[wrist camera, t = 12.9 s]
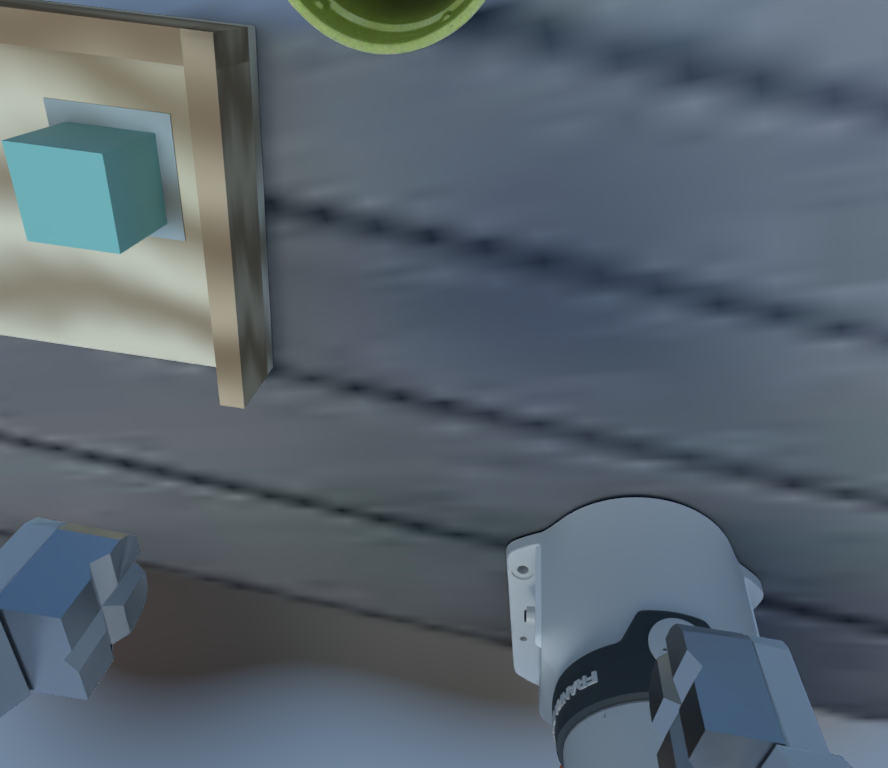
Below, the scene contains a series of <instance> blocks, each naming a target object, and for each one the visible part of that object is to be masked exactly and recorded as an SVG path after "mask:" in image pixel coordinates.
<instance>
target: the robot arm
mask: <svg viewBox="0 0 888 768" xmlns="http://www.w3.org/2000/svg"><path fill="white" fill-rule="evenodd" d="M140 552H141V550H140V547H139V543H138V540H137V536H133V535H129V534H124V533H119V532H114V531H109V530H103V529H98V528H93V527H88V526H83V525H78V524H72V523H66V522H61V521H55V520H49V519H44V518H38V517H37V518H35V519H33V520H31V521H28V522H26V523H25V524H24V525H23V526H22V527H21V528H20V529H19V530H18V531H17V532H16V533H15V534H14V535H13V536H12V537H11V538H10V539H9V540H8V541H7V542H6V543H5V544H4V546H3V547H2V548H1V549H0V717H1V716H3V715H4V714H6V713H7V712H8V711H10V710H11V709H13V708H14V707H15V706H17V705H18V704H19V703H20V702H22V701H23V700H25V699H26V698H28V697H29V696H30V695H31V693H30V691H31V692H38V693H45V694H52V695H59V696H66V697H73V698H79V699H85V700H88V699H89V697H90V696H91V694H92V692H93V691H94V690H95V688H96V686H97V685H98V683H99V682H100V680H101V679H102V677H103V675H104V674H105V672H106V670H107V669H108V668H109V666H110V664H111V663H112V661H113V660H114V657H113V649H112V644H113V643H115V642H117V641H118V640H120V639H121V638H123V637H124V636H126V635H128V634H130V632H131V631H132V629H133V627H134V626H135V624H136V622H137V621H138V619H139V617H140V615H141V612H142V609H143V606H144V603H145V600H146V597H147V578H146V573H145V571H144V570H143V569H142V568H141V567H140V566H139V565H138V564H137V563H136V562H135V560H136V558H137V557H138V555H139V554H140ZM506 560H507V576H508V591H509V606H510V621H511V636H512V651H513V663H514V670H515V672H516V673H517V674H518V675H520V676H521V677H523V678H525V679H526V680H528V681H530V682H532V683H534V684H537V685H538V686H539V713H540V715H541V716H542V718H543V719H544V720H545V721H546V722H547V723H548V724H550V725H551V726H552V730H553V739H554V743H555V746H556V750H557V755H558V758H559V761H560V763H561V765H560V768H852V767H851V766H850V765H849V764H848V763H847V762H846V761H845V760H844V759H843V758H842V756H838V755H833V754H830V753H829V751H828V748H827V745H826V743H825V741H824V738H823V735H822V732H821V730H820V728H819V725H818V722H817V720H816V717H815V714H814V712H813V709H812V707H811V704H810V702H809V699H808V696H807V694H806V691H805V689H804V686H803V684H802V681H801V678H800V676H799V673H798V671H797V668H796V665H795V663H794V660H793V658H792V655H791V653H790V650H789V648H788V646H787V645H786V644H785V643H784V642H783V641H782V640H776V639H770V638H764V637H760V636H759V632H758V628H757V624H756V619H755V615H754V611H753V610H754V609H755V608H756V607H757V605H758V604H759V603H760V602H761V601H762V599H763V590H762V585H761V582H760V581H759V579H758V578H757V577H756V576H755V575H754V574H753V573H751V572H750V571H749V570H748V569H746V568H745V567H744V566H742V565H741V564H740V563H739V562H738V560H737V558H736V557H735V554H734V552H733V549H732V547H731V545H730V543H729V541H728V539H727V537H726V536H725V534H724V533H723V532H722V531H721V530H720V528H719V527H718V526H717V525H716V524H714V523H713V522H712V521H711V520H710V519H708V518H707V517H705V516H704V515H702V514H700V513H699V512H697V511H695V510H693V509H691V508H688V507H686V506H683V505H681V504H677V503H674V502H670V501H666V500H661V499H654V498H642V497H631V498H618V499H611V500H606V501H601V502H597V503H594V504H591V505H588V506H585V507H583V508H581V509H578V510H576V511H574V512H572V513H571V514H569V515H567V516H566V517H564V518H563V519H561V520H560V521H558V522H557V523H556V524H554V525H553V526H551V527H550V528H548V529H547V530H545V531H543V532H540V533H537V534H533V535H529V536H526V537H523V538H519V539H517V540H515V541H513V542H511V543H510V544H509V545H508V546H507V548H506ZM523 566H524V567H523Z"/></svg>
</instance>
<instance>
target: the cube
mask: <svg viewBox="0 0 888 768" xmlns="http://www.w3.org/2000/svg"><path fill="white" fill-rule="evenodd" d="M1 141H2V144H3V148H4V152H5V156H6V160H7V164H8V168H9V172H10V175H11V179H12V183H13V187H14V191H15V195H16V199H17V203H18V206H19V210H20V214H21V218H22V222H23V226H24V230H25V234H26V238H27V241H30V242H37V243H45V244H52V245H59V246H66V247H73V248H80V249H87V250H94V251H101V252H108V253H115V254H121V253H123V252H124V251H126V250H128V249H129V248H131V247H132V246H134V245H135V244H137V243H138V242H140V241H141V240H143V239H145V238H146V237H148V236H149V235H151V234H152V233H154V232H155V231H157V230H158V229H160V228H162V227H163V226H165V225H166V224H167V217H166V210H165V202H164V195H163V187H162V180H161V173H160V165H159V158H158V151H157V143H156V136H155V133H150V132H142V131H135V130H127V129H119V128H112V127H104V126H96V125H89V124H81V123H73V122H63V123H59V124H56V125H53V126H49V127H46V128H42V129H39V130H35V131H32V132H29V133H25V134H22V135H18V136H15V137H12V138H8V139H5V140H1Z"/></svg>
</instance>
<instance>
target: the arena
mask: <svg viewBox="0 0 888 768" xmlns="http://www.w3.org/2000/svg"><path fill="white" fill-rule="evenodd" d="M63 122H73V123H81V124H89V125H96V126H104V127H112V128H119V129H127V130H135V131H142V132H150V133H155V136H156V143H157V151H158V158H159V165H160V173H161V180H162V187H163V195H164V202H165V210H166V217H167V224H166V225H165V226H163V227H162V228H160V229H158V230H157V231H155V232H154V233H152V234H151V235H149V236H148V237H146V238H145V239H143V240H141V241H140V242H138V243H137V244H135V245H134V246H132V247H131V248H129V249H128V250H126V251H124V252H123V253H121V254H115V253H108V252H101V251H94V250H87V249H80V248H73V247H66V246H59V245H52V244H45V243H37V242H30V241H27V238H26V234H25V230H24V226H23V222H22V218H21V214H20V210H19V206H18V203H17V199H16V195H15V191H14V187H13V183H12V179H11V175H10V172H9V168H8V164H7V160H6V156H5V152H4V148H3V144H2V141H1V140H5V139H8V138H12V137H15V136H18V135H22V134H25V133H29V132H32V131H35V130H39V129H42V128H46V127H49V126H53V125H56V124H59V123H63ZM0 335H5V336H12V337H19V338H25V339H32V340H39V341H46V342H52V343H59V344H66V345H72V346H79V347H86V348H92V349H99V350H106V351H112V352H119V353H126V354H133V355H139V356H146V357H153V358H159V359H166V360H173V361H179V362H186V363H193V364H199V365H206V366H213V367H216V371H217V380H218V389H219V399H220V405H224V406H230V407H237V408H243V409H245V407H246V406H247V404H248V403H249V401H250V400H251V398H252V397H253V395H254V394H255V393H256V391H257V390H258V388H259V387H260V385H261V384H262V382H263V381H264V380H265V378H266V377H267V375H268V374H269V372H270V371H271V369H272V368H273V354H272V335H271V316H270V297H269V279H268V260H267V241H266V222H265V203H264V184H263V165H262V146H261V127H260V108H259V89H258V70H257V51H256V32H255V26H252V25H244V24H235V23H227V22H219V21H210V20H202V19H194V18H185V17H177V16H169V15H160V14H152V13H144V12H135V11H127V10H119V9H110V8H102V7H94V6H85V5H77V4H68V3H60V2H52V1H43V0H0Z"/></svg>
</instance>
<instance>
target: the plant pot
mask: <svg viewBox="0 0 888 768" xmlns="http://www.w3.org/2000/svg"><path fill="white" fill-rule="evenodd" d="M288 1H289V2H290V4H291V5H292V6H293V7H294V8H295V9H296V10H297V11H298V12H299V13H300V14H301V15H302V16H303V17H304V19H306V20H307V21H308V22H309V23H310V24H311V25H312V26H314V27H315V28H316V29H317V30H319V31H320V32H321V33H323V34H324V35H325V36H327V37H329V38H330V39H332V40H334V41H336V42H338V43H340V44H342V45H344V46H346V47H349V48H351V49H355V50H358V51H362V52H367V53H372V54H383V55H389V54H402V53H408V52H412V51H416V50H420V49H423V48H426V47H428V46H431V45H433V44H435V43H437V42H439V41H441V40H442V39H444V38H446V37H447V36H449V35H451V34H452V33H453V32H455V31H456V30H458V29H459V28H460V27H462V26H463V25H464V24H465V23H466V22H467V21H468V20H469V19H470V18H472V16H473V15H474V14H475V13H476V12H477V11H478V10H479V9H480V8H481V6H482V5H483V4H484V2H485V1H486V0H288Z"/></svg>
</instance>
